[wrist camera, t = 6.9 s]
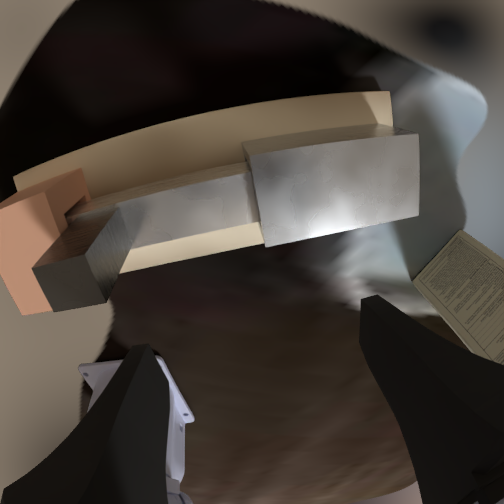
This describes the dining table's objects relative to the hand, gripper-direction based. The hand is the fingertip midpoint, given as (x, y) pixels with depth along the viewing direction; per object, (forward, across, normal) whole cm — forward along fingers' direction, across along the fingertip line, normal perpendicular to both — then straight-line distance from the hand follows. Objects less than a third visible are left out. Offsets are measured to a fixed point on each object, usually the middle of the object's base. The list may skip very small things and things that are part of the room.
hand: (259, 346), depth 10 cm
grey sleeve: (+10, -5, -3) cm, 12 cm away
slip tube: (+9, +4, -3) cm, 10 cm away
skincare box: (+11, -16, +7) cm, 21 cm away
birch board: (+10, +1, -3) cm, 11 cm away
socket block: (+10, +10, -3) cm, 15 cm away
